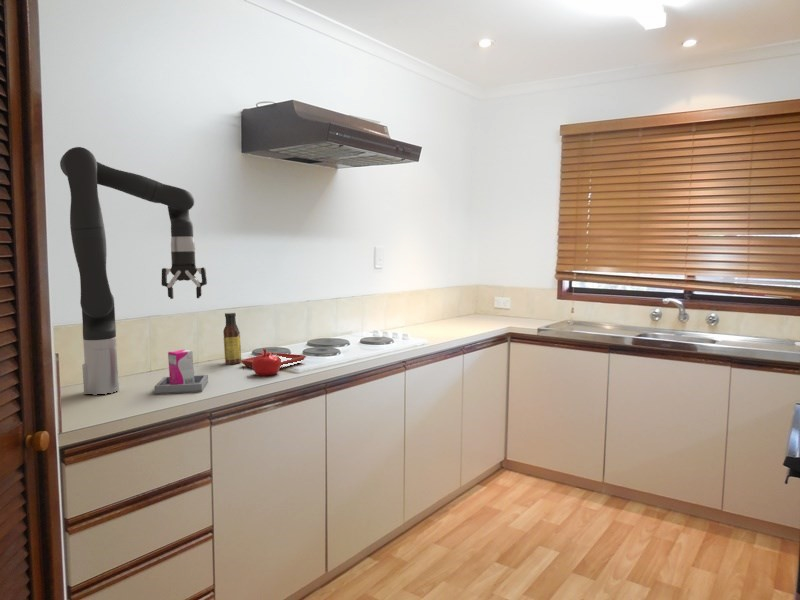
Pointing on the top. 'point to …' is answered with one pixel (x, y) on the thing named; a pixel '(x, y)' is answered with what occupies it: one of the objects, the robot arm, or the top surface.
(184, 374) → the supplement box
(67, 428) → the top surface
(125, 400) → the top surface
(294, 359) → the red square tray
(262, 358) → the pomegranate
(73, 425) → the top surface
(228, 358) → the sauce bottle
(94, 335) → the robot arm
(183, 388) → the tray
